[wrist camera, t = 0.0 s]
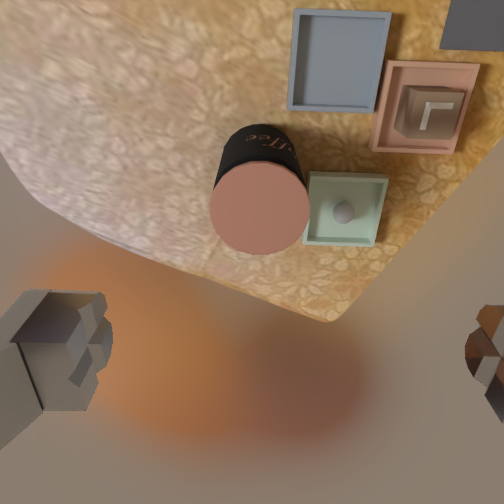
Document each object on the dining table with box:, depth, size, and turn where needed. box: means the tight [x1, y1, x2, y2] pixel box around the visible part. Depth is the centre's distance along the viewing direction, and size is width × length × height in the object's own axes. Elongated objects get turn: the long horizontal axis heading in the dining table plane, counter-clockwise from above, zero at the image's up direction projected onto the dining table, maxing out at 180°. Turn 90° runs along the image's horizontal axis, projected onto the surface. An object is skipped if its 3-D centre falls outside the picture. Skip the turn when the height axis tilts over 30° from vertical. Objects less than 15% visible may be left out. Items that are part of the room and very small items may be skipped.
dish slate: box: [286, 8, 392, 113], centre depth 48 cm, size 11×11×2 cm
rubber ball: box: [333, 202, 355, 224], centre depth 57 cm, size 3×3×3 cm
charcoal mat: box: [439, 0, 504, 51], centre depth 45 cm, size 10×10×1 cm
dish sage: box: [301, 171, 389, 247], centre depth 58 cm, size 11×11×2 cm
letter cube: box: [393, 85, 464, 140], centre depth 49 cm, size 6×6×6 cm
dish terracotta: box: [368, 59, 481, 154], centre depth 51 cm, size 11×11×2 cm
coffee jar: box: [209, 124, 310, 255], centre depth 48 cm, size 11×11×18 cm
